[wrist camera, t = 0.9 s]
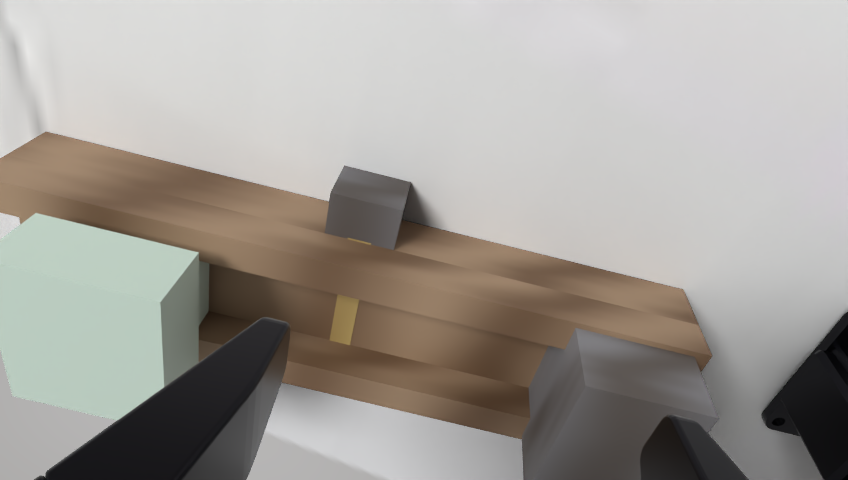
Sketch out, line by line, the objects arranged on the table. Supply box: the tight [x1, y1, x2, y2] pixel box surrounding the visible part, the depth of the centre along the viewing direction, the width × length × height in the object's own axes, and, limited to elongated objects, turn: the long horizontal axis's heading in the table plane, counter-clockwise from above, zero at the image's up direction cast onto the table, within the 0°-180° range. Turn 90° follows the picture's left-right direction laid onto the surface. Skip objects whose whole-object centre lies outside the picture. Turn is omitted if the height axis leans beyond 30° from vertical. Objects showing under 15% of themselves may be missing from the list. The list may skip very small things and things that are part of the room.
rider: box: [0, 213, 209, 420], centre depth 19 cm, size 5×6×4 cm
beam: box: [0, 132, 719, 480], centre depth 20 cm, size 24×9×6 cm, turn 77°
